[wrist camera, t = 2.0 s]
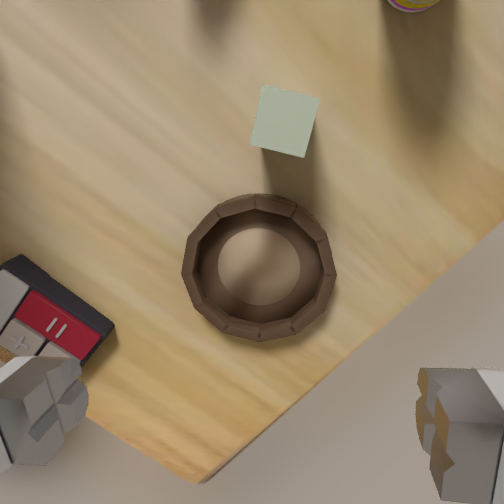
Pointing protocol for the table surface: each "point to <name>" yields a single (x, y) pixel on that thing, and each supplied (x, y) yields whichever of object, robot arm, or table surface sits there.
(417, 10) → the supplement bottle
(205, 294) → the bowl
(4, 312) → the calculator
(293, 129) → the block
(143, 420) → the table surface
